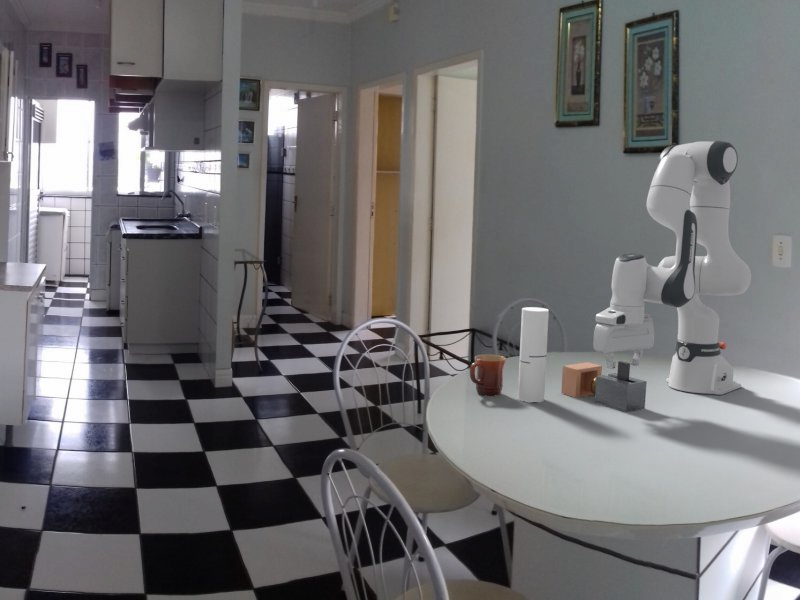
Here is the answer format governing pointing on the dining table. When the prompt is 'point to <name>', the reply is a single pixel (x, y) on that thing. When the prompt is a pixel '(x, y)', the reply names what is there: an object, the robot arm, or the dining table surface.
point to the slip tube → (622, 374)
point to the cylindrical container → (533, 354)
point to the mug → (488, 374)
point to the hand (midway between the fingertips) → (622, 366)
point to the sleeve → (620, 392)
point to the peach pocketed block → (579, 378)
